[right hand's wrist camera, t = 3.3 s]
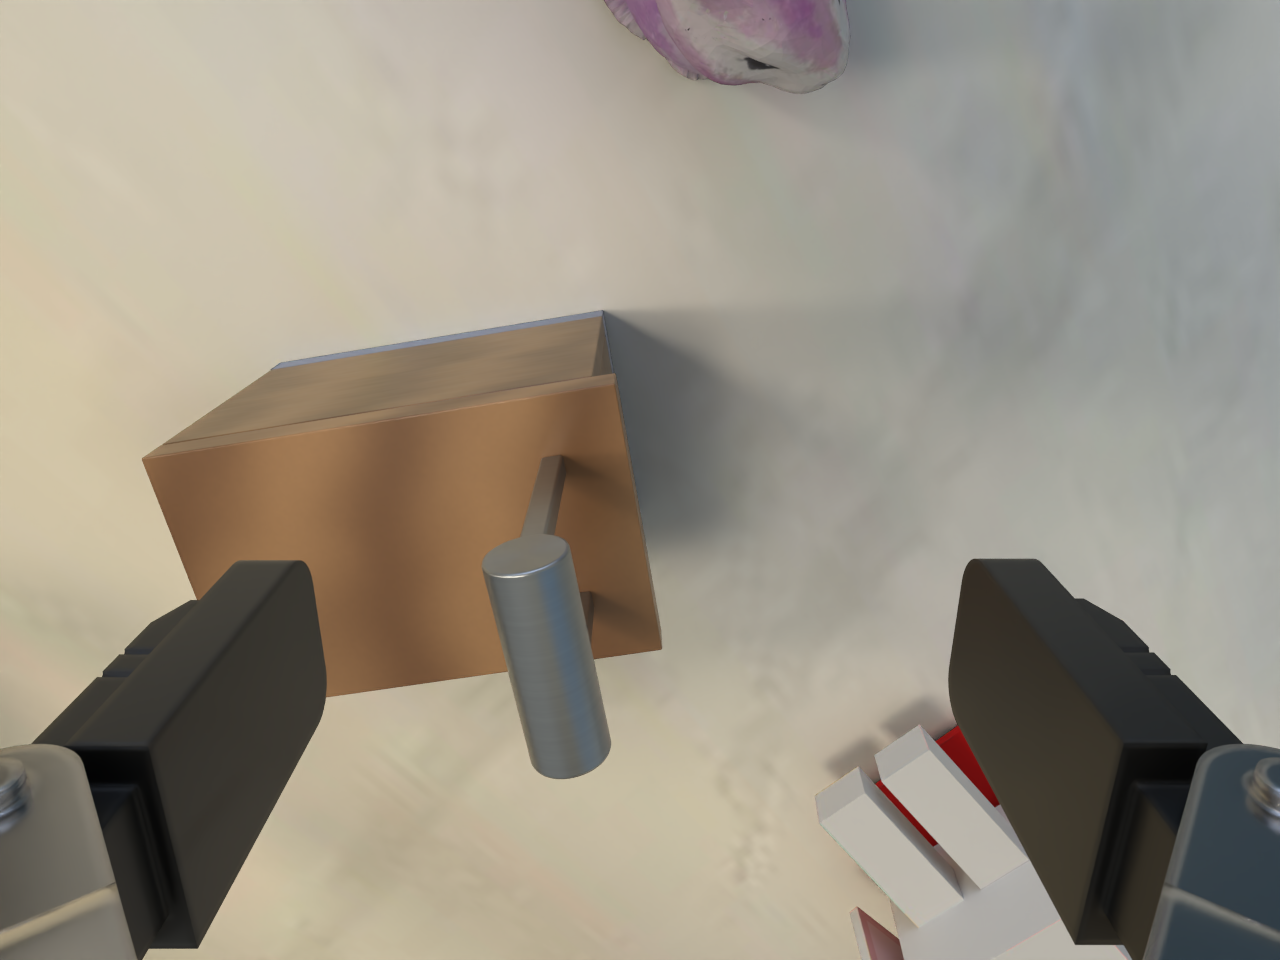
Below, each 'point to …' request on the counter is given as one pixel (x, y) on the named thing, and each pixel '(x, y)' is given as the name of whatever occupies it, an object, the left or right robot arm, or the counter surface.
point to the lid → (444, 544)
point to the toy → (944, 860)
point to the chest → (414, 374)
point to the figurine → (745, 39)
